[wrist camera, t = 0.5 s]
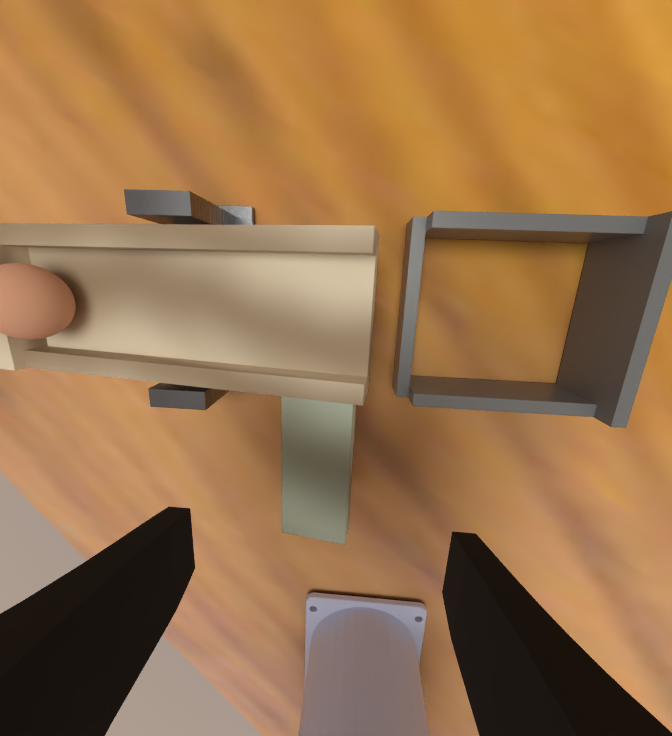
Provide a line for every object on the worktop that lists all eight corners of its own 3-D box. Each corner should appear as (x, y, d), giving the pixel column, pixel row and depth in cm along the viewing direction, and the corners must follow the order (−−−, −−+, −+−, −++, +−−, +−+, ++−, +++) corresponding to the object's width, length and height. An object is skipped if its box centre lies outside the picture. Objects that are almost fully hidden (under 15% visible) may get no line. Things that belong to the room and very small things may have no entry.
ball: (98, 335, 14) (27, 348, 12) (41, 331, 15) (-42, 342, 12) (87, 266, 14) (7, 261, 11) (27, 264, 14) (-65, 258, 11)
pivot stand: (259, 385, 18) (224, 421, 13) (190, 381, 18) (133, 415, 14) (254, 208, 16) (210, 177, 11) (175, 206, 16) (100, 174, 11)
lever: (358, 530, 15) (350, 576, 13) (83, 478, 18) (35, 507, 16) (379, 235, 12) (372, 222, 9) (34, 231, 15) (-36, 221, 12)
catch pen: (565, 394, 17) (625, 427, 13) (392, 385, 17) (402, 413, 14) (605, 229, 15) (691, 211, 11) (407, 224, 15) (423, 204, 11)
